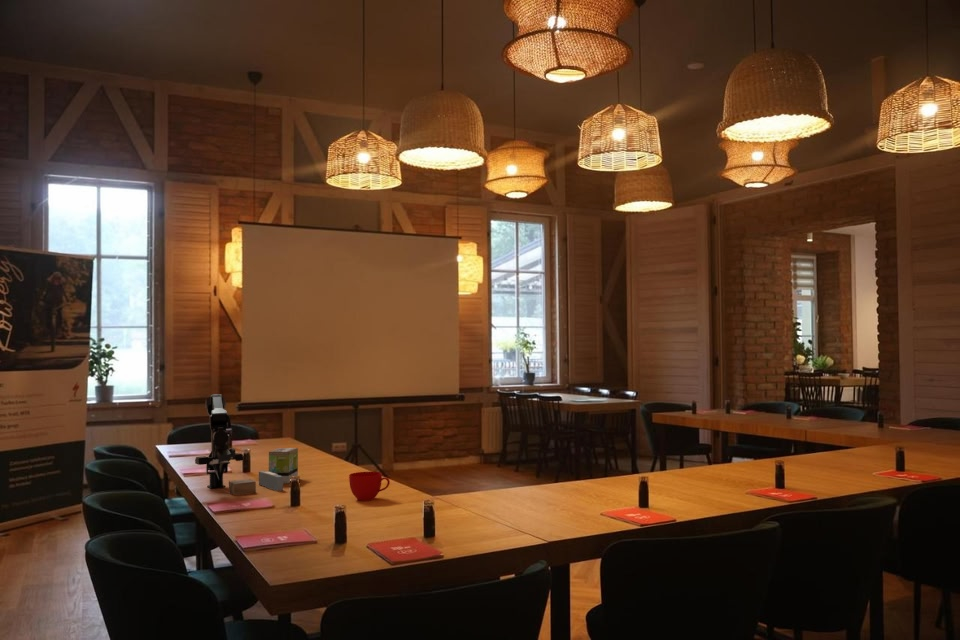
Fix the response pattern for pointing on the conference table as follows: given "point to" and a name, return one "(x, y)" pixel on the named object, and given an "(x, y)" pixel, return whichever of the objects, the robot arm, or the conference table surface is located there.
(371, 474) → the ceramic cup
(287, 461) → the tea box
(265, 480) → the gray and cream block
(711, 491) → the conference table surface
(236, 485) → the walnut block
